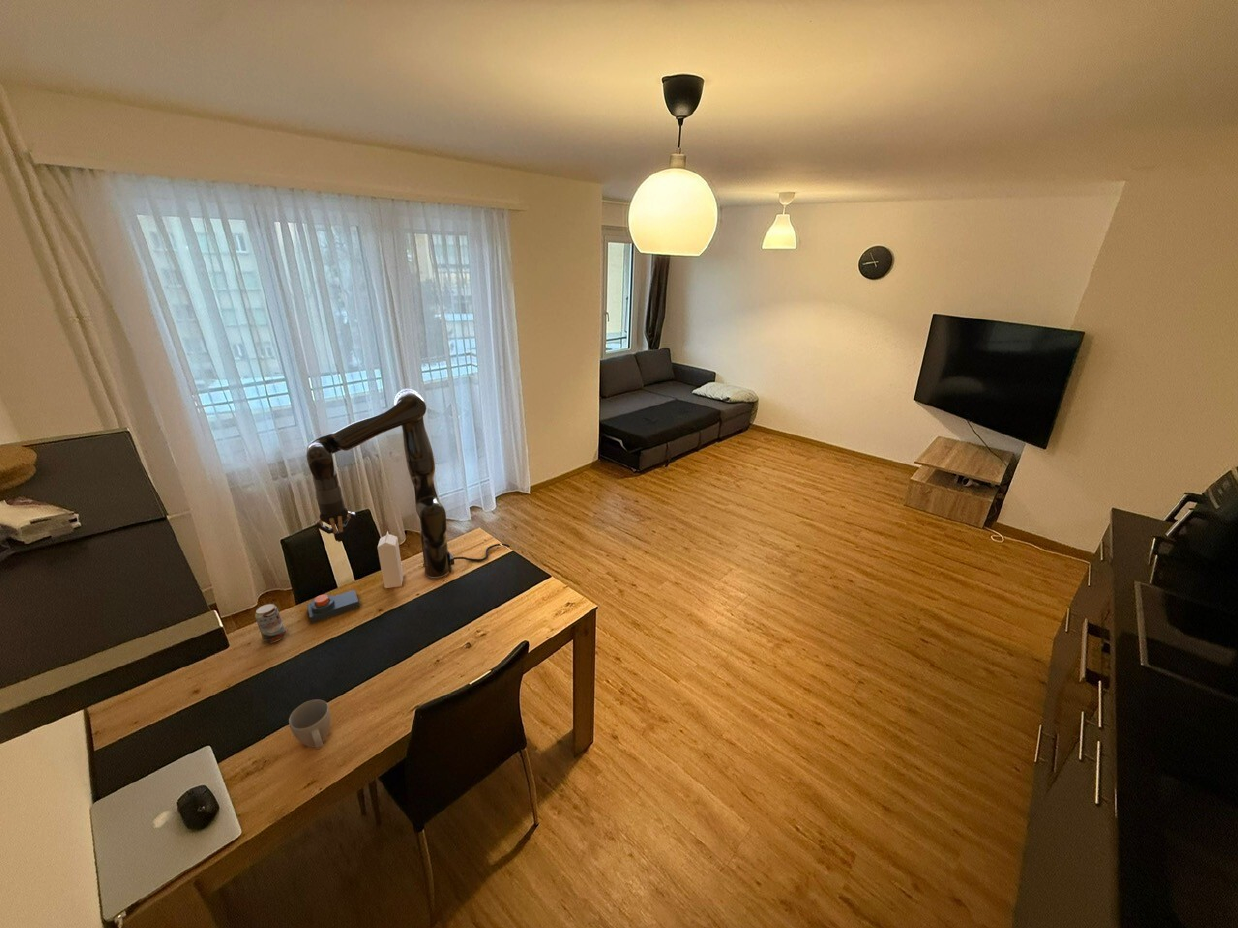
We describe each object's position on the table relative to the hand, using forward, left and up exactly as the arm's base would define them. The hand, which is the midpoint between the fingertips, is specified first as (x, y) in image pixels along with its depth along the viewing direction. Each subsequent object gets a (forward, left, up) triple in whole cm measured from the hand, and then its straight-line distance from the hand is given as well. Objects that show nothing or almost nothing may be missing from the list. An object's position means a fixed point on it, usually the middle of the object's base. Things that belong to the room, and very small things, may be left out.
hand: (340, 540), depth 168 cm
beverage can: (+25, +10, -24) cm, 36 cm away
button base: (+7, +5, -24) cm, 25 cm away
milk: (-15, +1, -24) cm, 28 cm away
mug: (+19, +58, -24) cm, 65 cm away
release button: (+10, +5, -20) cm, 23 cm away
